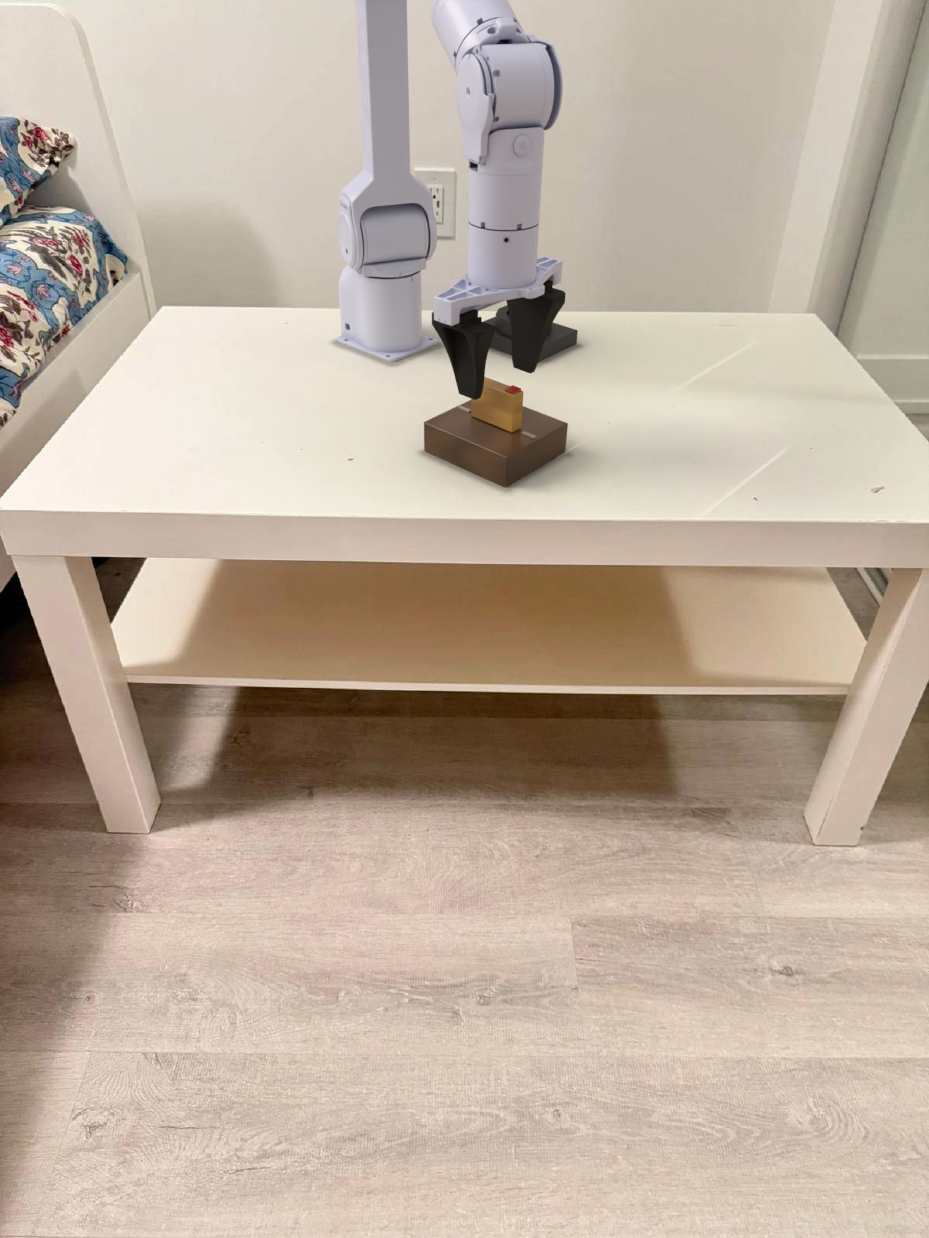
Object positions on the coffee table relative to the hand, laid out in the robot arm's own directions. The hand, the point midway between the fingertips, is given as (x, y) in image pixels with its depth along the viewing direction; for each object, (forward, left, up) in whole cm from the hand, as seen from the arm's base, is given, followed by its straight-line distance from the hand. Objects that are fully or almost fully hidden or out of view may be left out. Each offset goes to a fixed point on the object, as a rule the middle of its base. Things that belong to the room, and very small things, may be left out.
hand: (497, 382), depth 79 cm
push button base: (-15, +23, -7) cm, 28 cm away
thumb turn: (0, 0, -4) cm, 4 cm away
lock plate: (0, 0, -7) cm, 7 cm away
